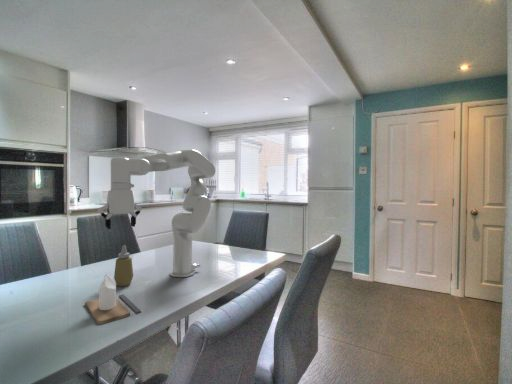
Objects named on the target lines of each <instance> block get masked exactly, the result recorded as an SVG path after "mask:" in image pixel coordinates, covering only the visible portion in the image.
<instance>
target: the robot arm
mask: <svg viewBox="0 0 512 384" xmlns="http://www.w3.org/2000/svg"><path fill="white" fill-rule="evenodd" d="M184 167H185V168H187V174H188V177H189V179H190V187H189V190H188V192H187V193H186V195H185V198H184V200H183V202H182V208H183V210H184V212H178V213H175V215H173V217H172V219H171V230H172V238H173V239H172V240H173V242H172V243H173V247H172V250H173V251H172V253H173V254H172V257H173V258H172V262H173V263H172V269H171V270H170V272H169V275H170V276H171V277H174V278H186V277H187V278H188V277H191V276H194V275H195V272H196V270H195V269H197V268H198V269H199V268H201V263H193V236H192V234H197V233H199V232H201V230H202V229H203V227H204V225H205V223H206V220H207V219H208V216H209V214H210V212H211V209H212V204H211V203H212V202H211V199H210V197H208V196H206V195H205V193H206V191H207V185H206V182H205V179H210V178H211V179H212V178H213V177H214V176H215V174H216V167H215V165H214V164H213V162H212V161H210V159H208V158H207V157H206V156H205V155H204V154H202V153H201V151H198V150H196V149H193V148H192V149H191V148H190V149H183V150H174V151H169V152H162V153H156V154H152V155H148V156H140V157H134V158H133V157H132V158H128V157H122V156H121V157H118V156H116V157H111V159H110V190H108V191H107V197H106V198H107V199H106V204H105V205H103V206H100V207H99V208H97V211H98V213H99V214H100V216H101V217H102V218H104V220H105V221H104V222H105V223H104V225H105V227H106V229H107V230H111V229H112V226H111V225H112V224H111V222H112V221H111V217H112V216H113V215H125V214H129V215H130V226H131V227H133V228H134V227H136V225H137V217H138V215H139V214H140V213H141V211H142V210H143V207H142V206H141V205H139V204H137V203H135V198H134V193H133V190H132V188H134V187H135V184H133V183H132V182H131V177H133V176H145V175H147V174H149V172H150V173H151V172H166V171H172V170H175V169H180V168H184ZM135 208H136V210H135ZM104 210H106V213H104ZM186 212H187V213H186Z"/></svg>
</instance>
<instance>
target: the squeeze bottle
mask: <svg viewBox="0 0 512 384" xmlns="http://www.w3.org/2000/svg"><path fill="white" fill-rule="evenodd" d="M127 251H128V250H127V245H122V246H121V251H120V253H118V256H117V259H115V264H114V265H115V266H114V275H113V280H114V283H115V284H116V287H126V286H129V285H131V283H132V280H133V278H134V269H133V260H132V259H133V258H132V257H130V252H127Z"/></svg>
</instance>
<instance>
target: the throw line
mask: <svg viewBox="0 0 512 384" xmlns="http://www.w3.org/2000/svg"><path fill="white" fill-rule="evenodd" d="M118 296H119V298H120V299H121V300H122V301H123V302H124V303H125V304H126V305H127V306H128V307H129V308H130V309H131V310H132V311H133V312H134V313H135V314H140V313H142V311H141V309H140V308H139V307H138V306H136V305H135V304H134V303H133V302H132V301H131V300H130V299H129V298H128V297H127V296H126V295H125V294H119V295H118Z"/></svg>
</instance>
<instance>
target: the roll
mask: <svg viewBox="0 0 512 384" xmlns="http://www.w3.org/2000/svg"><path fill="white" fill-rule="evenodd" d="M98 299H99V309H100V310H110V309H112V308H114V307H115V306H116V299H117V285H116V282H115V280H114V279H112V277H111V276H110V275H109V274H105V275H104V276H103V281H102V282H101V284H100V286H99V288H98Z"/></svg>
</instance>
